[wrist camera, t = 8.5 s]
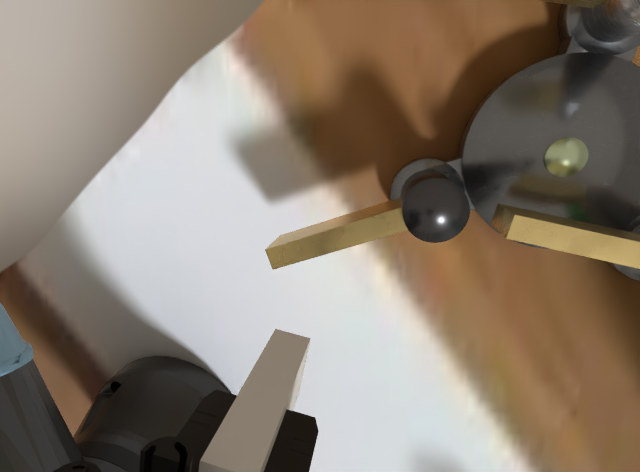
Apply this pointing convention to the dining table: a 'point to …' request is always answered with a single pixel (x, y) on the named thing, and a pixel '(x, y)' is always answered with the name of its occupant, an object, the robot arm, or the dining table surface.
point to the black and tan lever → (382, 221)
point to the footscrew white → (569, 235)
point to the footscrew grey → (608, 18)
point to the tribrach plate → (556, 137)
